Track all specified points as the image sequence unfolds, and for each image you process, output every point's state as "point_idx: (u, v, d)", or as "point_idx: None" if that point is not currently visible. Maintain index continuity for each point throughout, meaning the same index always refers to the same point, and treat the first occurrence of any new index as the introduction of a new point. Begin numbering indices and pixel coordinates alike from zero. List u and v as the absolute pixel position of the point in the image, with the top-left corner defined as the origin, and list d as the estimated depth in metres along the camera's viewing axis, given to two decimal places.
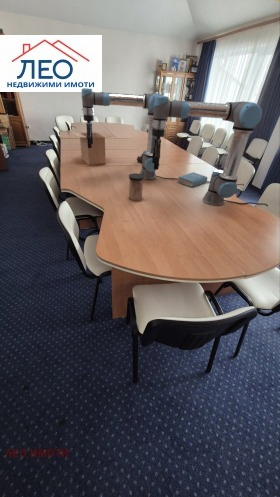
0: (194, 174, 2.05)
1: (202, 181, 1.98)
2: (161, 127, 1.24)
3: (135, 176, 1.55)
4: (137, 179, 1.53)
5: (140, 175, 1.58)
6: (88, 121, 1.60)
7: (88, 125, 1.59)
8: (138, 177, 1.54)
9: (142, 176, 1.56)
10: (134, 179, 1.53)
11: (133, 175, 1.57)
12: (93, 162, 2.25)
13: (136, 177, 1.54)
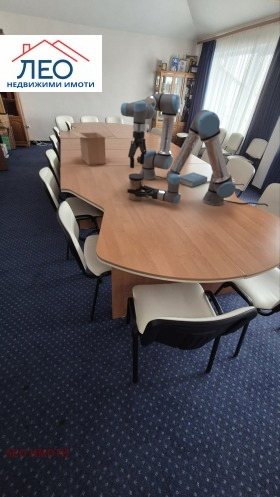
0: (194, 174, 2.05)
1: (202, 181, 1.98)
2: None
3: (135, 176, 1.55)
4: (137, 179, 1.53)
5: (140, 175, 1.58)
6: (134, 138, 1.40)
7: (132, 143, 1.39)
8: (138, 177, 1.54)
9: (142, 176, 1.56)
10: (134, 179, 1.53)
11: (133, 175, 1.57)
12: (93, 162, 2.25)
13: (136, 177, 1.54)
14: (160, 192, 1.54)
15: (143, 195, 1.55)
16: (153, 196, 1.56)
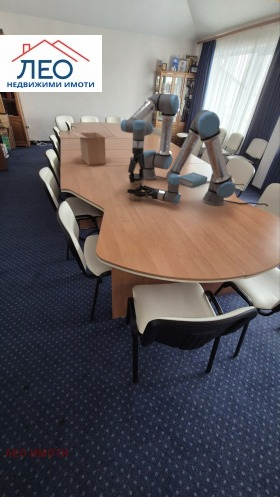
0: (194, 174, 2.05)
1: (202, 181, 1.98)
2: None
3: (135, 176, 1.55)
4: (137, 179, 1.53)
5: (140, 175, 1.58)
6: (134, 154, 1.45)
7: (132, 159, 1.45)
8: (138, 177, 1.54)
9: (142, 176, 1.56)
10: (134, 179, 1.53)
11: None
12: (93, 162, 2.25)
13: (136, 177, 1.54)
14: (160, 192, 1.54)
15: (143, 195, 1.55)
16: (153, 196, 1.56)
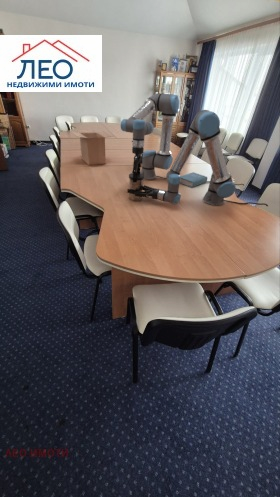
0: (194, 174, 2.05)
1: (202, 181, 1.98)
2: None
3: (139, 175, 1.56)
4: None
5: None
6: (136, 154, 1.45)
7: (135, 159, 1.44)
8: (140, 174, 1.58)
9: (137, 173, 1.60)
10: None
11: None
12: (93, 162, 2.25)
13: (141, 175, 1.57)
14: (160, 192, 1.54)
15: (143, 195, 1.55)
16: (153, 196, 1.56)
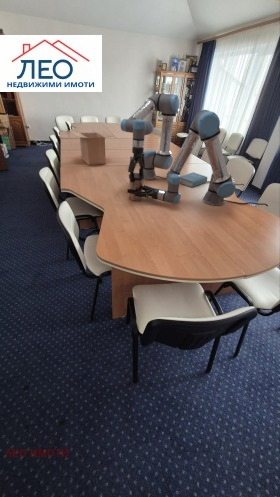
0: (194, 174, 2.05)
1: (202, 181, 1.98)
2: None
3: (139, 175, 1.56)
4: None
5: (134, 174, 1.59)
6: (134, 153, 1.45)
7: (132, 159, 1.44)
8: (140, 174, 1.58)
9: (137, 173, 1.60)
10: None
11: (136, 176, 1.55)
12: (93, 162, 2.25)
13: (141, 175, 1.57)
14: (160, 192, 1.54)
15: (143, 195, 1.55)
16: (153, 196, 1.56)
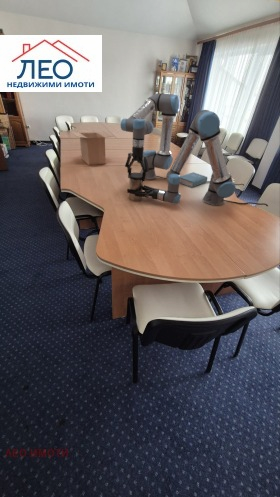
0: (194, 174, 2.05)
1: (202, 181, 1.98)
2: None
3: (137, 174, 1.58)
4: None
5: (132, 175, 1.55)
6: (142, 153, 1.46)
7: (146, 158, 1.46)
8: (134, 173, 1.59)
9: (130, 174, 1.56)
10: None
11: (139, 175, 1.56)
12: (93, 162, 2.25)
13: (136, 173, 1.59)
14: (160, 192, 1.54)
15: (143, 195, 1.55)
16: (153, 196, 1.56)
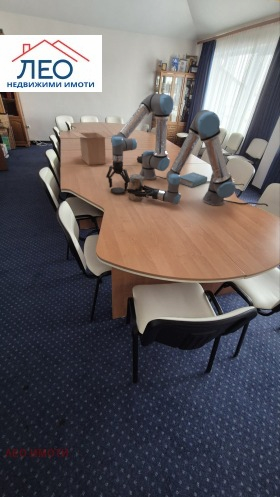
0: (194, 174, 2.05)
1: (202, 181, 1.98)
2: None
3: (118, 188, 1.74)
4: None
5: (114, 190, 1.71)
6: (122, 167, 1.61)
7: (126, 171, 1.61)
8: (115, 188, 1.75)
9: (112, 189, 1.72)
10: None
11: (120, 189, 1.73)
12: (93, 162, 2.25)
13: (117, 188, 1.75)
14: (160, 192, 1.54)
15: (143, 195, 1.55)
16: (153, 196, 1.56)
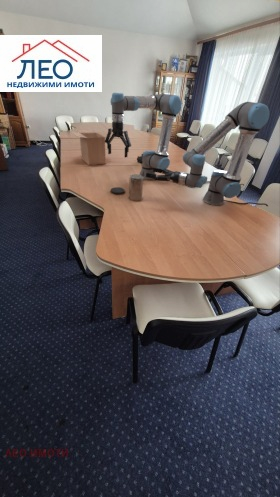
0: None
1: None
2: None
3: (118, 188, 1.74)
4: None
5: (114, 190, 1.71)
6: (122, 128, 1.46)
7: (126, 133, 1.46)
8: (115, 188, 1.75)
9: (112, 189, 1.72)
10: None
11: (120, 189, 1.73)
12: (93, 162, 2.25)
13: (117, 188, 1.75)
14: (182, 175, 1.41)
15: (164, 179, 1.42)
16: (174, 179, 1.44)
